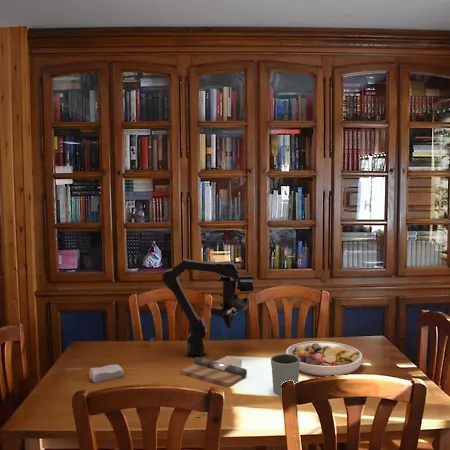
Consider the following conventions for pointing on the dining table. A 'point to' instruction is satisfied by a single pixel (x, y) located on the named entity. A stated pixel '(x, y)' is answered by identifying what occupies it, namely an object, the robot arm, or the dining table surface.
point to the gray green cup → (284, 370)
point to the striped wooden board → (214, 373)
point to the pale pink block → (225, 363)
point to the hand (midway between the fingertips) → (229, 327)
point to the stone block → (106, 373)
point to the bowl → (326, 358)
